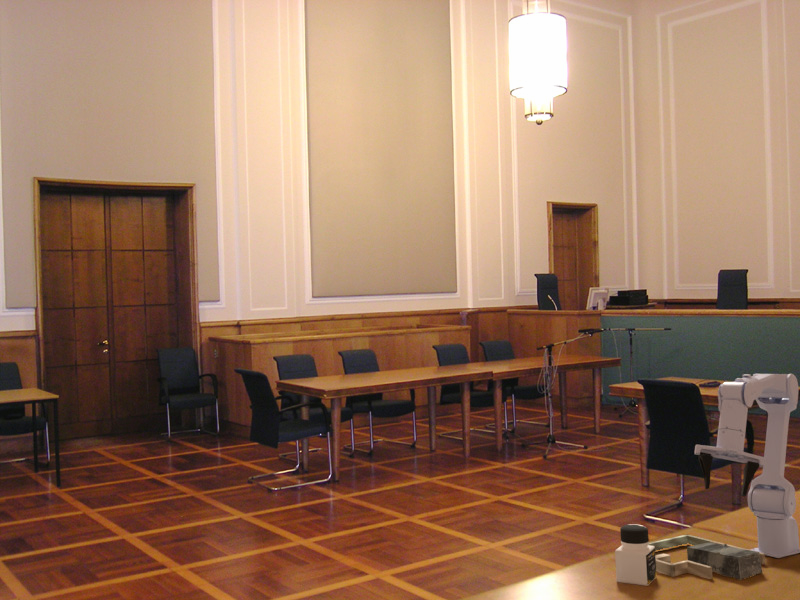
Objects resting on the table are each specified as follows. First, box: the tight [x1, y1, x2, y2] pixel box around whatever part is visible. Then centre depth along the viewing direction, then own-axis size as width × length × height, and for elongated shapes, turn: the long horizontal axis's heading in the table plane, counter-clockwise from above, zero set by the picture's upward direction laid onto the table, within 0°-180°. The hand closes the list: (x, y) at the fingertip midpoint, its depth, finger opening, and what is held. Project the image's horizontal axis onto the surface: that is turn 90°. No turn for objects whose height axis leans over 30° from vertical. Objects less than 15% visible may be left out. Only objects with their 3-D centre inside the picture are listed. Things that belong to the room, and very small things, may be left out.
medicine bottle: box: [614, 523, 657, 587], centre depth 184 cm, size 7×7×12 cm
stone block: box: [686, 542, 763, 581], centre depth 189 cm, size 9×14×5 cm, turn 30°
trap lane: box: [649, 534, 766, 580], centre depth 196 cm, size 24×23×2 cm
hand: (725, 492), depth 182 cm, fingers open, 7 cm apart
